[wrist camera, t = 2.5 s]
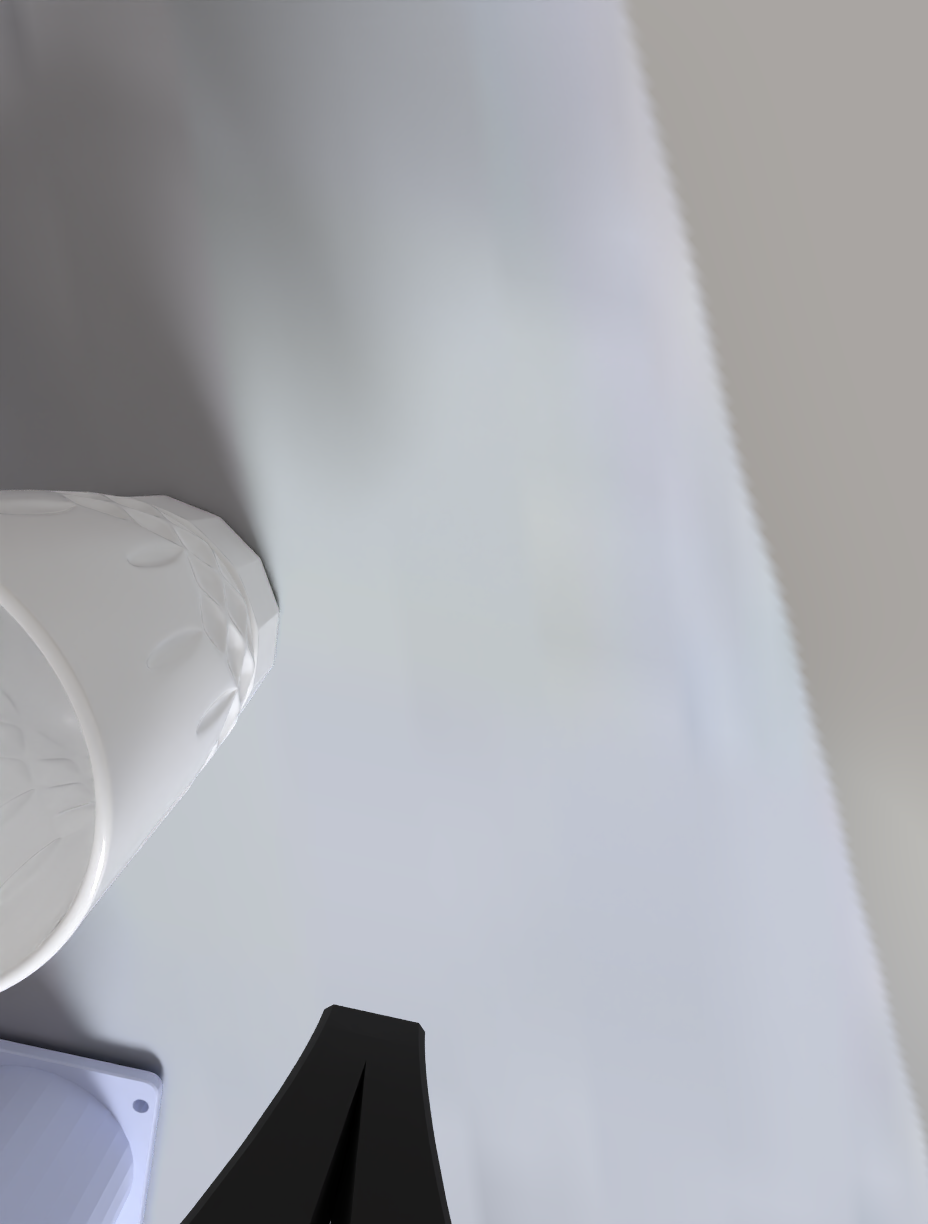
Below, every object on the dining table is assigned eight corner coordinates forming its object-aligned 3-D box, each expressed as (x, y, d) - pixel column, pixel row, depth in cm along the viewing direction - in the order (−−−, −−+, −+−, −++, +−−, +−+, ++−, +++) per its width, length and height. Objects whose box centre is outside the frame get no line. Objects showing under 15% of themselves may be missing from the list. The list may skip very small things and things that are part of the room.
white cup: (-34, 606, 20) (-548, 754, 10) (151, 408, 18) (-238, 357, 9) (171, 799, 21) (-114, 1105, 11) (361, 627, 19) (226, 802, 10)
